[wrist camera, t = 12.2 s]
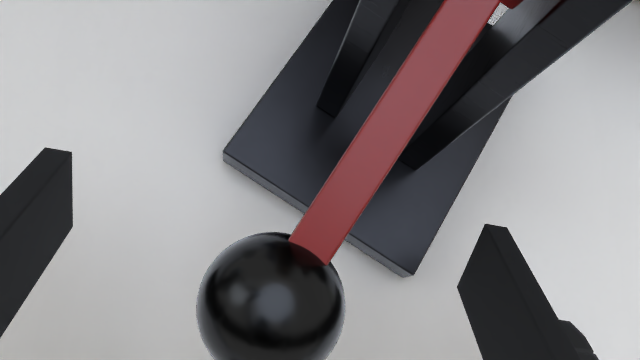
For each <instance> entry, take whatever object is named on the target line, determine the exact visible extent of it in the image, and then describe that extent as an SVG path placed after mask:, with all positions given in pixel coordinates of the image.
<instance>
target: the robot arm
mask: <svg viewBox="0 0 640 360" xmlns="http://www.w3.org/2000/svg"><path fill="white" fill-rule="evenodd" d="M72 227H73V207H72V152H68V151H63V150H57V149H51V148H44V149H43V150H42V151H41V152H40V153H39V155H38V156H37V157H36V158H35V159H34V160H33V161H32V162H31V163H30V164H29V165H28V166H27V167H26V168H25V169H24V171H23V172H22V173H21V174H20V175H19V176H18V177H17V178H16V179H15V180H14V181H13V182H12V183H11V184H10V185H9V187H8V188H7V189H6V190H5V191H4V192H3V193H2V194H1V195H0V338H1V336H2V334H3V333H4V331H5V330H6V328H7V327H8V325H9V324H10V322H11V321H12V319H13V318H14V316H15V315H16V313H17V311H18V310H19V308H20V307H21V305H22V304H23V302H24V301H25V299H26V298H27V296H28V295H29V293H30V292H31V290H32V288H33V287H34V285H35V284H36V282H37V281H38V279H39V278H40V276H41V275H42V273H43V272H44V270H45V269H46V267H47V265H48V264H49V262H50V261H51V259H52V258H53V256H54V255H55V253H56V252H57V250H58V249H59V247H60V246H61V244H62V242H63V241H64V239H65V238H66V236H67V235H68V233H69V232H70V230H71V229H72ZM457 288H458V291H459V294H460V297H461V300H462V302H463V305H464V308H465V311H466V313H467V316H468V319H469V322H470V324H471V327H472V330H473V333H474V335H475V338H476V341H477V344H478V347H479V349H480V352H481V355H482V358H483V360H598V358H597V356H596V355H595V354H593V350H592V348H591V346H590V345H589V343H588V341H587V340H586V338H585V336H584V335H583V334H582V333H581V332H580V331H579V330H578V329H577V328H576V327H575V326H574V325H573V324H572V323H571V322H570V321H563V320H558V318H557V316H556V314H555V312H554V311H553V309H552V307H551V305H550V304H549V302H548V300H547V298H546V296H545V295H544V293H543V291H542V289H541V288H540V286H539V284H538V282H537V280H536V279H535V277H534V275H533V273H532V271H531V270H530V268H529V266H528V264H527V263H526V261H525V259H524V257H523V255H522V254H521V252H520V250H519V248H518V247H517V245H516V243H515V241H514V239H513V238H512V236H511V234H510V232H509V230H508V229H507V227H501V226H495V225H489V224H485V225H484V227H483V230H482V232H481V234H480V236H479V239H478V241H477V243H476V245H475V248H474V250H473V252H472V254H471V257H470V259H469V261H468V263H467V266H466V268H465V270H464V272H463V275H462V277H461V279H460V281H459V284H458V286H457Z"/></svg>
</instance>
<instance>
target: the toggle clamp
mask: <svg viewBox="0 0 640 360" xmlns="http://www.w3.org/2000/svg"><path fill="white" fill-rule="evenodd" d="M443 1H444V0H333V1H332V2H331V4H330V5H329V6H328V8H327V9H326V11H325V12H324V13H323V15H322V16H321V17H320V19H319V20H318V21H317V23H316V24H315V26H314V27H313V28H312V30H311V31H310V32H309V34H308V35H307V36H306V38H305V39H304V41H303V42H302V43H301V45H300V46H299V47H298V49H297V50H296V52H295V53H294V54H293V56H292V57H291V58H290V60H289V61H288V62H287V64H286V65H285V67H284V68H283V69H282V71H281V72H280V73H279V75H278V76H277V78H276V79H275V80H274V82H273V83H272V84H271V86H270V87H269V88H268V90H267V91H266V93H265V94H264V95H263V97H262V98H261V99H260V101H259V102H258V104H257V105H256V106H255V108H254V109H253V110H252V112H251V113H250V114H249V116H248V117H247V119H246V120H245V121H244V123H243V124H242V125H241V127H240V128H239V129H238V131H237V132H236V134H235V135H234V136H233V138H232V139H231V140H230V142H229V143H228V145H227V146H226V147H225V149H224V150H223V160H224V161H225V162H226V163H228V164H229V165H231V166H232V167H234V168H235V169H237V170H238V171H240V172H241V173H243V174H245V175H246V176H248V177H249V178H251V179H252V180H254V181H255V182H257V183H258V184H260V185H261V186H263V187H265V188H266V189H268V190H269V191H271V192H272V193H274V194H275V195H277V196H278V197H280V198H281V199H283V200H285V201H286V202H288V203H289V204H291V205H292V206H294V207H295V208H297V209H298V210H300V211H301V212H303V213H304V214H305V213H306V211H307V210H308V208H309V207H310V205H311V203H312V202H313V200H314V199H315V197H316V196H317V194H318V193H319V191H320V190H321V188H322V187H323V185H324V183H325V182H326V180H327V179H328V177H329V176H330V174H331V173H332V171H333V170H334V168H335V167H336V165H337V164H338V162H339V160H340V159H341V157H342V156H343V154H344V153H345V151H346V150H347V148H348V147H349V145H350V144H351V142H352V141H353V139H354V137H355V136H356V134H357V133H358V131H359V130H360V128H361V127H362V125H363V124H364V122H365V121H366V119H367V118H368V116H369V114H370V113H371V111H372V110H373V108H374V107H375V105H376V104H377V102H378V101H379V99H380V98H381V96H382V95H383V93H384V91H385V90H386V88H387V87H388V85H389V84H390V82H391V81H392V79H393V78H394V76H395V75H396V73H397V72H398V70H399V68H400V67H401V65H402V64H403V62H404V61H405V59H406V58H407V56H408V55H409V53H410V52H411V50H412V49H413V47H414V45H415V44H416V42H417V41H418V39H419V38H420V36H421V35H422V33H423V32H424V30H425V29H426V27H427V26H428V24H429V22H430V21H431V19H432V18H433V16H434V15H435V13H436V12H437V10H438V9H439V7H440V6H441V4H442V3H443ZM631 1H632V0H524V1H522V2H521V3H520V4H519V5H518V6H516V7H515V8H514V9H510V8H509V9H508V10H507V11H506V12H505V13H504V14H503V15H502V17H501V18H500V19H499V20H498V21H497V22H496V23H495V24H494V25H493V26H492V25H490V24H489V23H486V25H485V26H484V28H483V29H482V31H481V32H480V34H479V35H478V37H477V38H476V40H475V41H474V43H473V44H472V46H471V48H470V49H469V51H468V52H467V54H466V55H465V57H464V58H463V60H462V61H461V63H460V64H459V66H458V67H457V69H456V70H455V72H454V73H453V75H452V76H451V78H450V80H449V81H448V83H447V84H446V86H445V87H444V89H443V90H442V92H441V93H440V95H439V96H438V98H437V99H436V101H435V102H434V104H433V105H432V107H431V108H430V110H429V112H428V113H427V115H426V116H425V118H424V119H423V121H422V122H421V124H420V125H419V127H418V128H417V130H416V131H415V133H414V134H413V136H412V137H411V139H410V140H409V142H408V143H407V145H406V147H405V148H404V150H403V151H402V153H401V154H400V156H399V157H398V159H397V160H396V162H395V163H394V165H393V166H392V168H391V169H390V171H389V172H388V174H387V175H386V177H385V179H384V180H383V182H382V183H381V185H380V186H379V188H378V189H377V191H376V192H375V194H374V195H373V197H372V198H371V200H370V201H369V203H368V204H367V206H366V207H365V209H364V211H363V212H362V214H361V215H360V217H359V218H358V220H357V221H356V223H355V224H354V226H353V227H352V229H351V230H350V232H349V233H348V235H347V236H346V238H345V239H344V240H346V241H348V242H349V243H351V244H352V245H354V246H355V247H357V248H358V249H360V250H361V251H363V252H364V253H366V254H367V255H369V256H371V257H372V258H374V259H375V260H377V261H378V262H380V263H381V264H383V265H384V266H386V267H387V268H389V269H391V270H392V271H394V272H395V273H397V274H398V275H400V276H401V277H408V276H413V275H414V274H415V272H416V270H417V268H418V267H419V265H420V263H421V261H422V259H423V258H424V256H425V254H426V252H427V250H428V248H429V247H430V245H431V243H432V241H433V239H434V237H435V236H436V234H437V232H438V230H439V228H440V227H441V225H442V223H443V221H444V219H445V217H446V216H447V214H448V212H449V210H450V208H451V206H452V205H453V203H454V201H455V199H456V197H457V196H458V194H459V192H460V190H461V188H462V186H463V185H464V183H465V181H466V179H467V177H468V175H469V174H470V172H471V170H472V168H473V166H474V165H475V163H476V161H477V159H478V157H479V155H480V154H481V152H482V150H483V148H484V146H485V144H486V143H487V141H488V139H489V137H490V135H491V134H492V132H493V130H494V128H495V126H496V124H497V123H498V121H499V119H500V117H501V115H502V113H503V112H504V110H505V108H506V106H507V104H508V103H509V101H510V99H511V97H512V95H513V94H514V93H516V92H517V91H518V90H519V89H521V88H522V87H523V86H525V85H526V84H527V83H528V82H530V81H531V80H532V79H533V78H535V77H536V76H537V75H539V74H540V73H541V72H542V71H544V70H545V69H546V68H547V67H549V66H550V65H551V64H553V63H554V62H555V61H556V60H558V59H559V58H560V57H561V56H563V55H564V54H565V53H567V52H568V51H569V50H570V49H572V48H573V47H574V46H575V45H577V44H578V43H579V42H581V41H582V40H583V39H584V38H586V37H587V36H588V35H589V34H591V33H592V32H593V31H595V30H596V29H597V28H598V27H600V26H601V25H602V24H603V23H605V22H606V21H607V20H609V19H610V18H611V17H612V16H614V15H615V14H616V13H617V12H619V11H620V10H621V9H623V8H624V7H625V6H626V5H628V4H629V3H630V2H631Z"/></svg>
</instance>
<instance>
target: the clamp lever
mask: <svg viewBox="0 0 640 360" xmlns="http://www.w3.org/2000/svg"><path fill="white" fill-rule="evenodd" d="M522 1H524V0H444V1H443V3H442V4H441V6H440V7H439V9H438V10H437V12H436V13H435V15H434V16H433V18H432V19H431V21H430V22H429V24H428V26H427V27H426V29H425V30H424V32H423V33H422V35H421V36H420V38H419V39H418V41H417V42H416V44H415V45H414V47H413V49H412V50H411V52H410V53H409V55H408V56H407V58H406V59H405V61H404V62H403V64H402V65H401V67H400V68H399V70H398V72H397V73H396V75H395V76H394V78H393V79H392V81H391V82H390V84H389V85H388V87H387V88H386V90H385V91H384V93H383V95H382V96H381V98H380V99H379V101H378V102H377V104H376V105H375V107H374V108H373V110H372V111H371V113H370V114H369V116H368V118H367V119H366V121H365V122H364V124H363V125H362V127H361V128H360V130H359V131H358V133H357V134H356V136H355V137H354V139H353V141H352V142H351V144H350V145H349V147H348V148H347V150H346V151H345V153H344V154H343V156H342V157H341V159H340V160H339V162H338V164H337V165H336V167H335V168H334V170H333V171H332V173H331V174H330V176H329V177H328V179H327V180H326V182H325V183H324V185H323V187H322V188H321V190H320V191H319V193H318V194H317V196H316V197H315V199H314V200H313V202H312V203H311V205H310V207H309V208H308V210H307V211H306V213H305V214H304V216H303V217H302V219H301V220H300V222H299V223H298V225H297V226H296V228H295V230H294V231H293V233H292V234H291V235H290V234H286V233H279V232H266V233H258V234H254V235H251V236H248V237H245V238H243V239H241V240H238V241H237V242H235V243H233V244H232V245H230V246H229V247H227V248H226V249H225V250H224V251H222V252H221V253H220V254H219V255H218V256H217V257H216V259H215V260H214V261H213V263H212V264H211V265H210V267H209V268H208V270H207V272H206V273H205V275H204V277H203V280H202V282H201V285H200V288H199V292H198V297H197V305H196V316H197V323H198V328H199V331H200V335H201V338H202V340H203V342H204V344H205V346H206V348H207V350H208V351H209V353H210V354H211V356H212V357H213V358H214V360H325V359H326V358H327V357H328V355H329V354H330V353H331V351H332V350H333V348H334V346H335V345H336V343H337V341H338V339H339V336H340V334H341V331H342V327H343V324H344V317H345V296H344V290H343V286H342V283H341V280H340V278H339V276H338V273H337V271H336V269H335V268H334V266H333V264H332V263H331V262H330V261H331V259H332V258H333V256H334V255H335V253H336V252H337V250H338V249H339V247H340V246H341V244H342V242H343V241H344V239H345V238H346V236H347V235H348V233H349V232H350V230H351V229H352V227H353V226H354V224H355V223H356V221H357V220H358V218H359V217H360V215H361V214H362V212H363V211H364V209H365V207H366V206H367V204H368V203H369V201H370V200H371V198H372V197H373V195H374V194H375V192H376V191H377V189H378V188H379V186H380V185H381V183H382V182H383V180H384V179H385V177H386V175H387V174H388V172H389V171H390V169H391V168H392V166H393V165H394V163H395V162H396V160H397V159H398V157H399V156H400V154H401V153H402V151H403V150H404V148H405V147H406V145H407V143H408V142H409V140H410V139H411V137H412V136H413V134H414V133H415V131H416V130H417V128H418V127H419V125H420V124H421V122H422V121H423V119H424V118H425V116H426V115H427V113H428V112H429V110H430V108H431V107H432V105H433V104H434V102H435V101H436V99H437V98H438V96H439V95H440V93H441V92H442V90H443V89H444V87H445V86H446V84H447V83H448V81H449V80H450V78H451V76H452V75H453V73H454V72H455V70H456V69H457V67H458V66H459V64H460V63H461V61H462V60H463V58H464V57H465V55H466V54H467V52H468V51H469V49H470V48H471V46H472V44H473V43H474V41H475V40H476V38H477V37H478V35H479V34H480V32H481V31H482V29H483V28H484V26H485V25H486V23H487V22H488V20H489V19H490V17H491V16H492V14H493V13H494V11H495V9H496V8H497V6H498V5H499V3H500V2H501V3H502V4H504V5H505V6H507V7H508V8H510V9H514V8H515V7H516V6H518V5H519V4H520V3H521V2H522Z"/></svg>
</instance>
